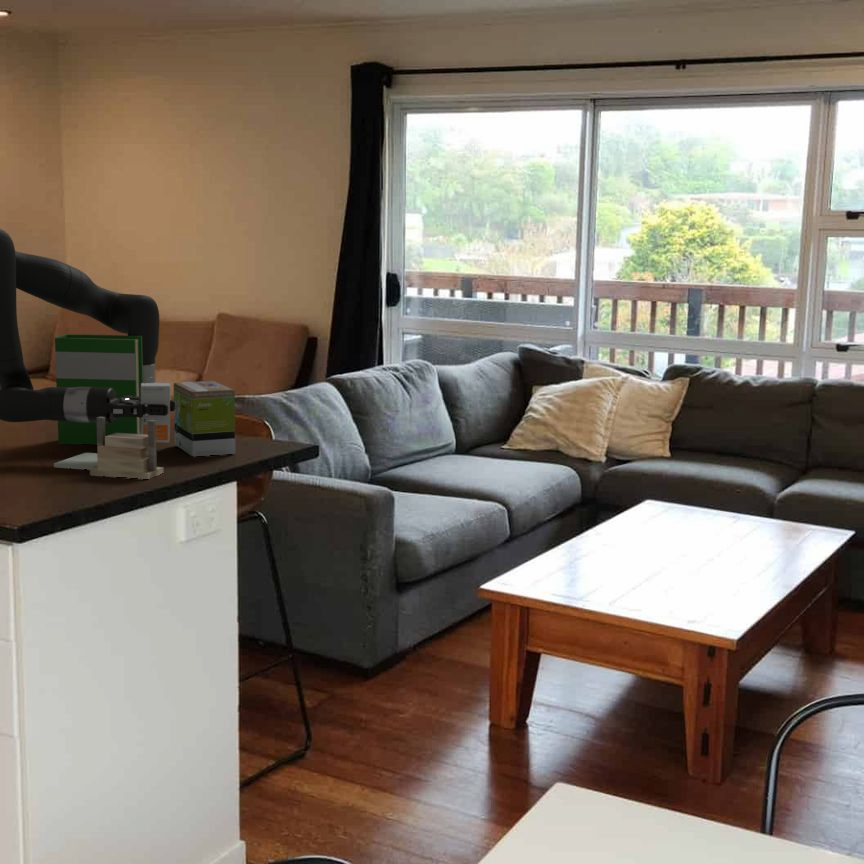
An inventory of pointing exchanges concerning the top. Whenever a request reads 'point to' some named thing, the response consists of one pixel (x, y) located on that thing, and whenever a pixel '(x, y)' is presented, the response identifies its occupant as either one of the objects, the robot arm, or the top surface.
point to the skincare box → (156, 395)
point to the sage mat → (79, 462)
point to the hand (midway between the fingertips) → (170, 408)
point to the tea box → (204, 418)
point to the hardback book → (99, 377)
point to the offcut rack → (126, 453)
